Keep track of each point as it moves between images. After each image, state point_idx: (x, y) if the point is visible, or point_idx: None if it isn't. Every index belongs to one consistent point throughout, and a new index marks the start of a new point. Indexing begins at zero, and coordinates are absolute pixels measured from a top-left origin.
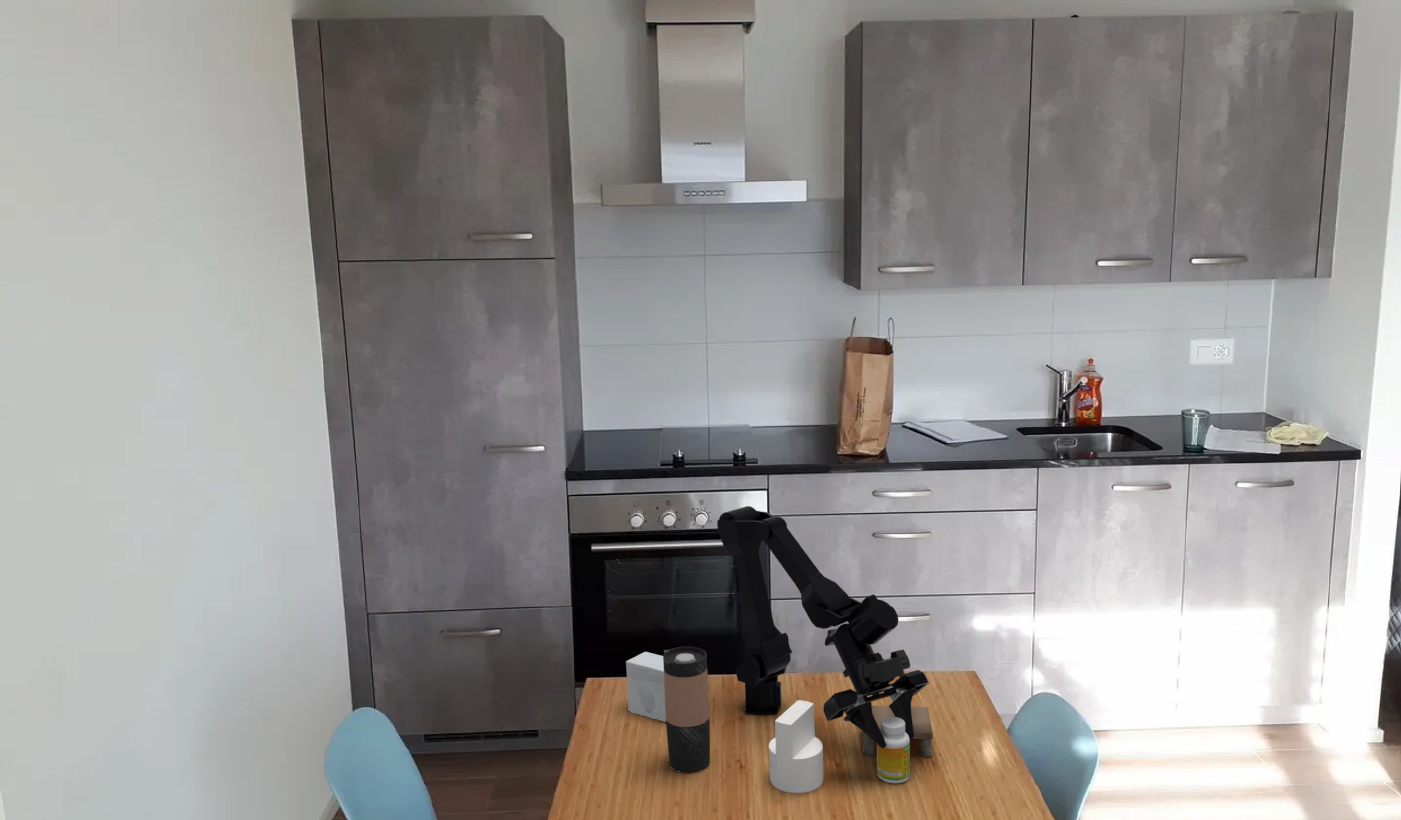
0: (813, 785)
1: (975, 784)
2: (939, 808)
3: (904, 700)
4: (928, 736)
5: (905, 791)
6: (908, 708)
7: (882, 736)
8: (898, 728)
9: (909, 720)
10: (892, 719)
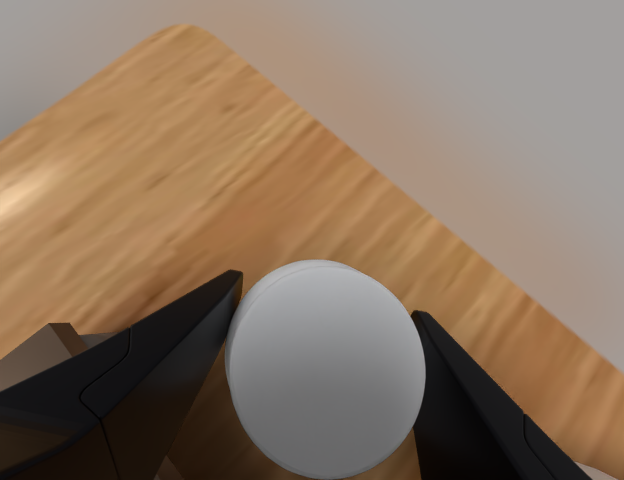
0: (582, 468)
1: (181, 148)
2: (343, 146)
3: (9, 461)
4: (71, 337)
5: (347, 252)
6: (80, 376)
7: (439, 340)
8: (360, 273)
9: (182, 315)
10: (297, 399)
